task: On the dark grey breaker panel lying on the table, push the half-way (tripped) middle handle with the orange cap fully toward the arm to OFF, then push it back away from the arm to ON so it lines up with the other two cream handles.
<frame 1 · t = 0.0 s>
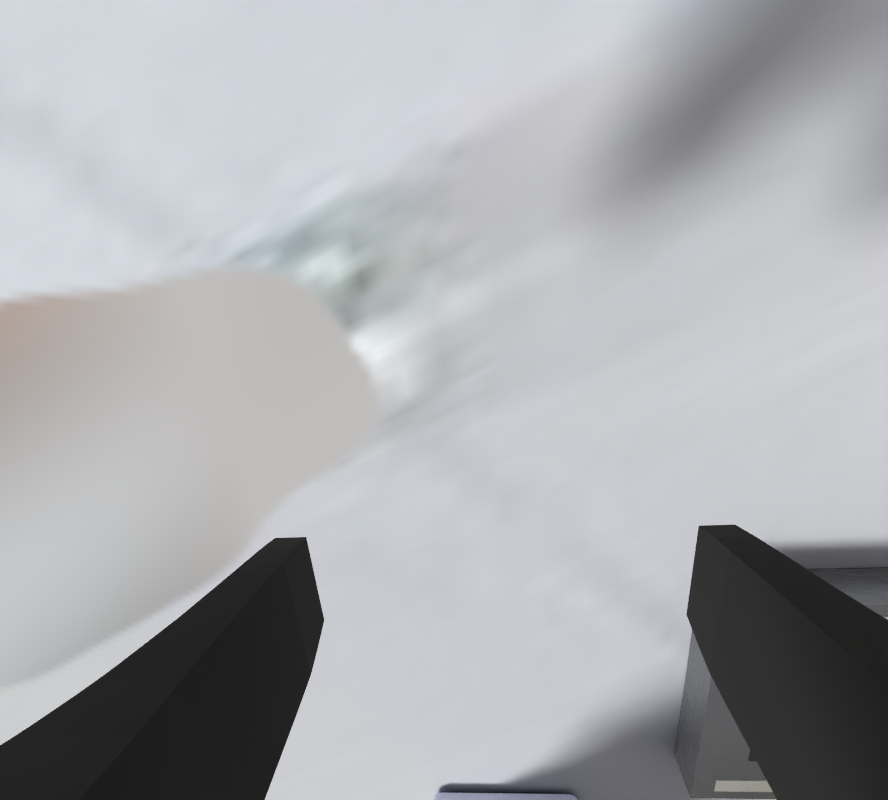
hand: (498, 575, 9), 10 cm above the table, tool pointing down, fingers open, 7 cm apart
panel: (863, 670, 22), on the table
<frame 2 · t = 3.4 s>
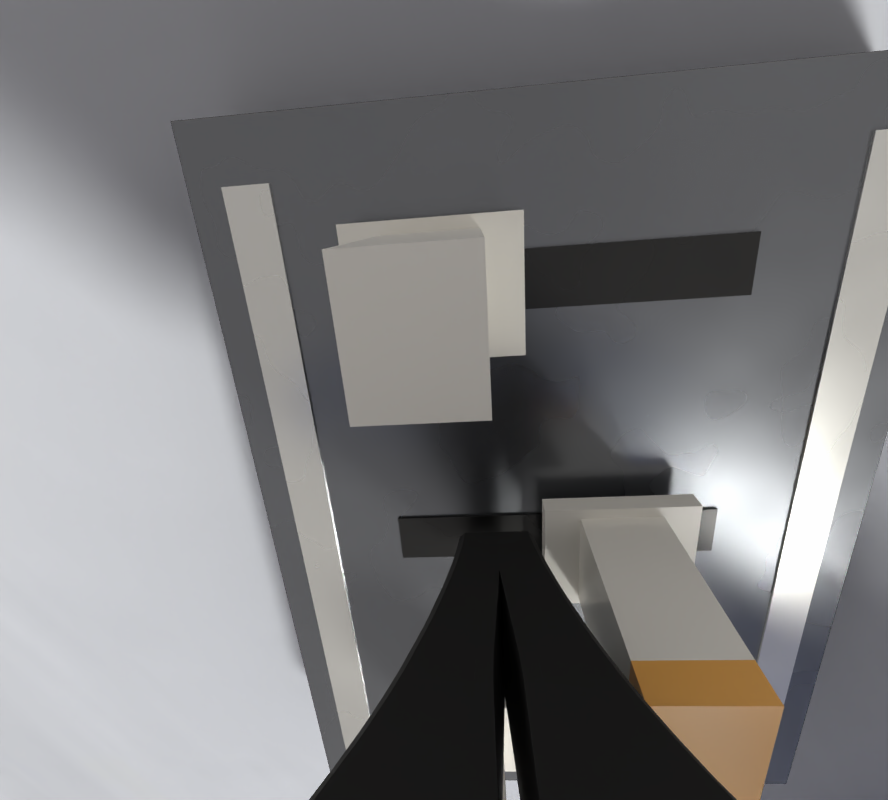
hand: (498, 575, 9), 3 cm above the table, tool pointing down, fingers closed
breaker mid: (648, 625, 8), point 4 cm above the table, slide at 0.9 cm, touching gripper
panel: (540, 482, 12), on the table
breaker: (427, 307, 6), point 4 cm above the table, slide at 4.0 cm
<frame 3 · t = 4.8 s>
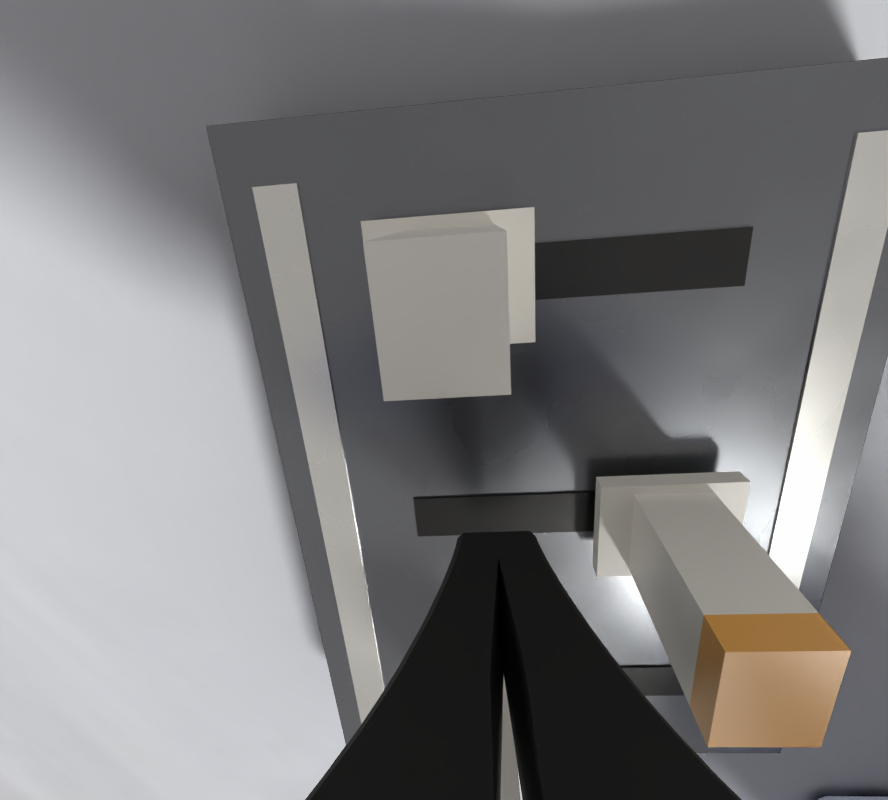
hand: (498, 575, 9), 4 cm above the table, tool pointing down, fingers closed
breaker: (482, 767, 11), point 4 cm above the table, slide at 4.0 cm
breaker mid: (705, 590, 8), point 4 cm above the table, slide at -0.1 cm
panel: (546, 467, 12), on the table
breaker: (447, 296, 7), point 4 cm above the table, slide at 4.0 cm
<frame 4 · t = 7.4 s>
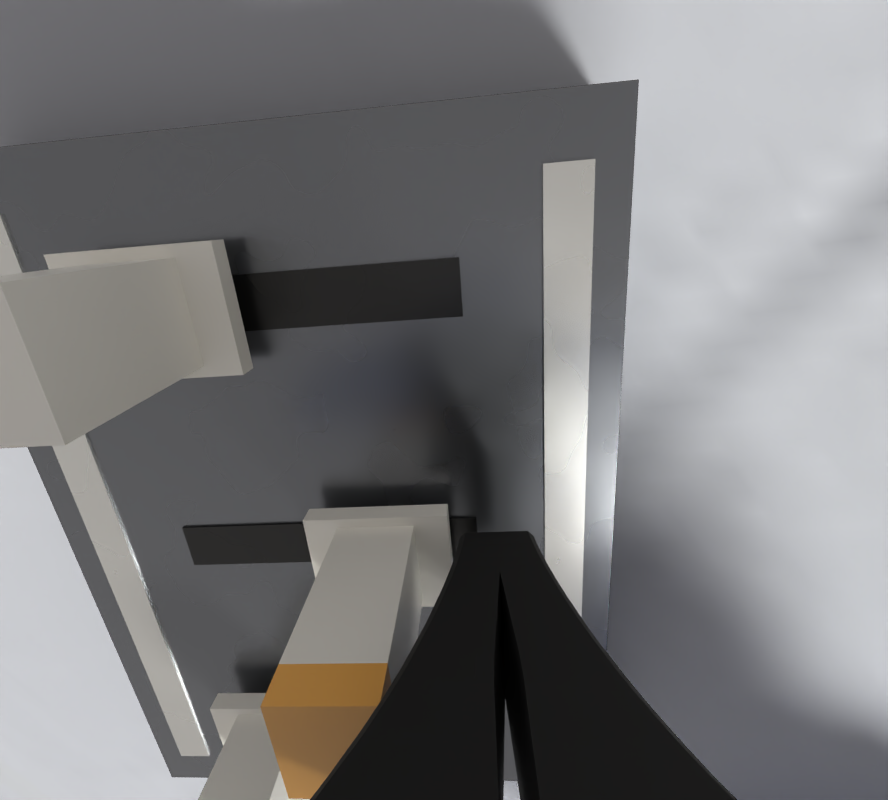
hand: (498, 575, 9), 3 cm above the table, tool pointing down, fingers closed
breaker mid: (364, 629, 8), point 4 cm above the table, slide at 0.7 cm, touching gripper
panel: (351, 491, 12), on the table
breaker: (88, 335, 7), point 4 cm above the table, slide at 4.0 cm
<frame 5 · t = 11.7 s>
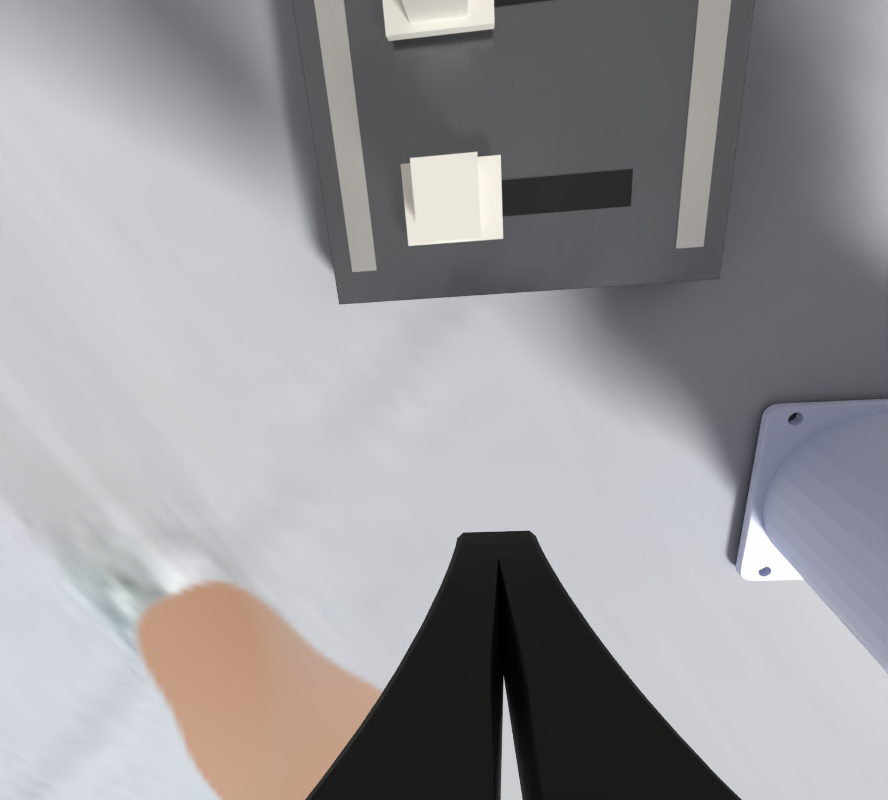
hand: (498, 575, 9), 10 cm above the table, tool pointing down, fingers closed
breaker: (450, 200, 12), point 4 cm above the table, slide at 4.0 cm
panel: (512, 10, 14), on the table
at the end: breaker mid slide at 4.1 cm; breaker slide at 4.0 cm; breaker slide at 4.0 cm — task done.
